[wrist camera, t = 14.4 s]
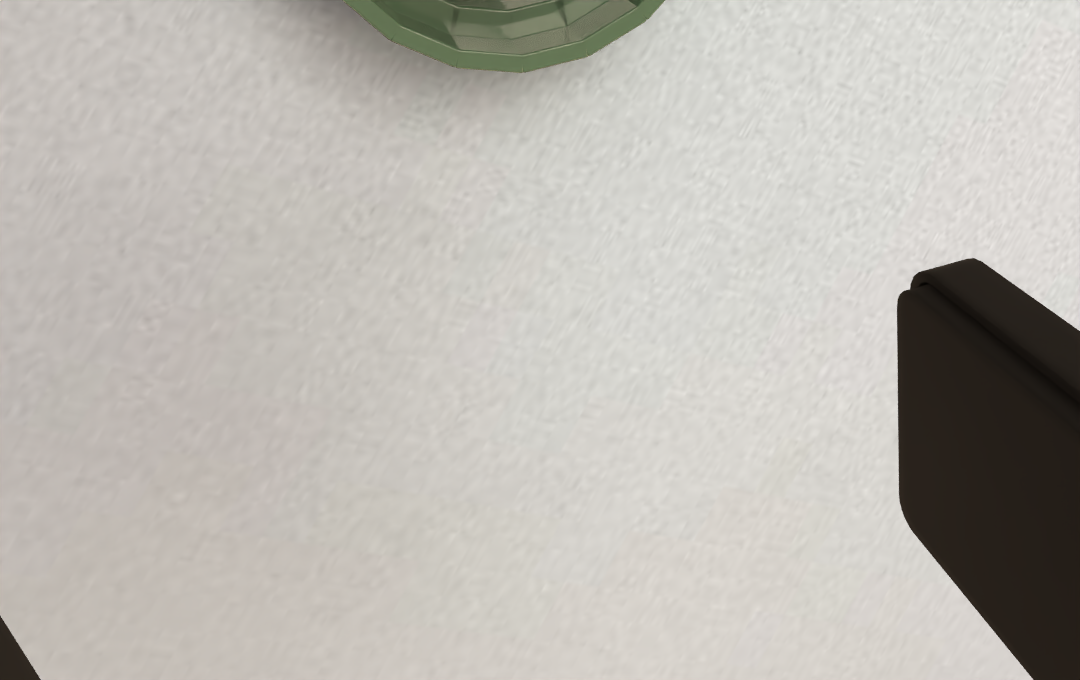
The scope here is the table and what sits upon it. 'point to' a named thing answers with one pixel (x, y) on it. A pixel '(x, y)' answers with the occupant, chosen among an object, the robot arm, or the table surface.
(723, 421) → the table surface
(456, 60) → the bowl
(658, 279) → the table surface
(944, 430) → the robot arm
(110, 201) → the table surface
